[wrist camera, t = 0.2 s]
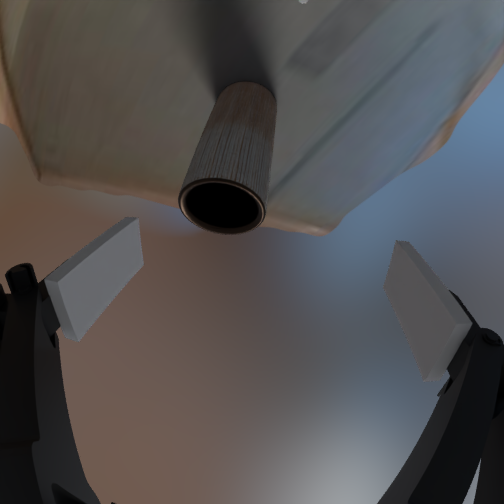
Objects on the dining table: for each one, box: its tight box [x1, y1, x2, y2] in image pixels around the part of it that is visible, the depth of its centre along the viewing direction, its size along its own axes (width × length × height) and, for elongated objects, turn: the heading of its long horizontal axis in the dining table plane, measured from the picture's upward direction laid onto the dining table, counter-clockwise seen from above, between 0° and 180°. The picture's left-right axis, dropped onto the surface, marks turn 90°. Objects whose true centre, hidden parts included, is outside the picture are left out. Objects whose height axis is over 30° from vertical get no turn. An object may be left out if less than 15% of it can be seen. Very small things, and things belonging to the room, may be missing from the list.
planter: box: [178, 82, 277, 235], centre depth 37 cm, size 10×10×23 cm
